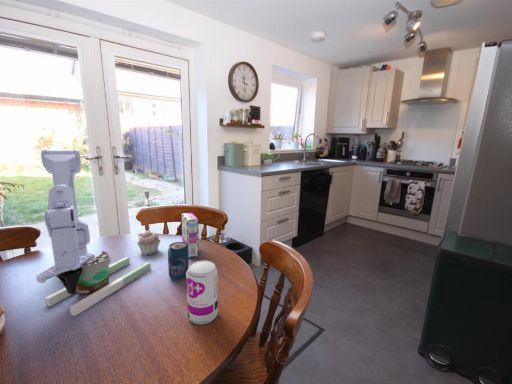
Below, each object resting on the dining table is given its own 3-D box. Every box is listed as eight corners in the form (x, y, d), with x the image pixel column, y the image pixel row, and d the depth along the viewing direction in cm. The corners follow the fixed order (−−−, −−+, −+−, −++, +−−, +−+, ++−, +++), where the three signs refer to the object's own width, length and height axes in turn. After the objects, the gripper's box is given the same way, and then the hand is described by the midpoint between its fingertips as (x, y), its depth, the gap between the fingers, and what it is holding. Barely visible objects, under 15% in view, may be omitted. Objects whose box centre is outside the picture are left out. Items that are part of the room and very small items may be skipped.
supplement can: (203, 330, 65) (202, 278, 62) (181, 318, 69) (179, 268, 66) (223, 313, 72) (223, 264, 69) (202, 302, 76) (201, 256, 73)
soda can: (167, 282, 86) (165, 250, 84) (170, 272, 93) (168, 241, 90) (188, 280, 87) (187, 248, 85) (189, 270, 94) (188, 240, 92)
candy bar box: (199, 256, 106) (198, 219, 102) (187, 258, 103) (186, 220, 100) (193, 246, 115) (192, 211, 112) (182, 248, 113) (180, 213, 110)
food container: (92, 300, 76) (88, 270, 74) (75, 297, 77) (70, 267, 75) (121, 279, 87) (119, 252, 85) (106, 276, 89) (103, 250, 87)
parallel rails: (46, 305, 73) (45, 297, 73) (126, 262, 99) (126, 256, 98) (74, 316, 69) (73, 308, 68) (150, 268, 95) (150, 262, 94)
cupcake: (165, 248, 112) (164, 227, 110) (152, 258, 103) (151, 235, 101) (147, 246, 114) (145, 225, 112) (132, 255, 105) (130, 232, 103)
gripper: (45, 263, 63) (53, 311, 66) (99, 242, 76) (104, 282, 79) (28, 258, 65) (36, 304, 68) (83, 238, 79) (88, 278, 81)
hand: (71, 292), depth 74 cm, fingers closed
